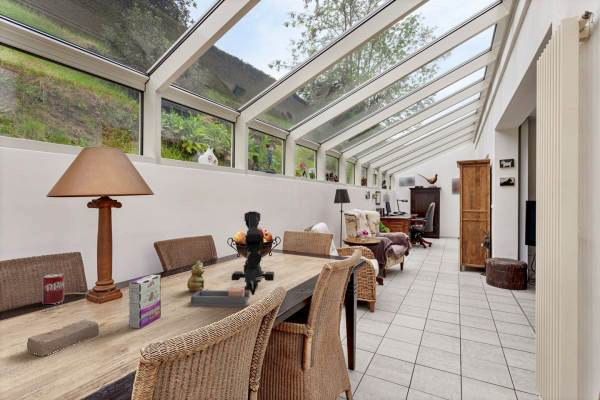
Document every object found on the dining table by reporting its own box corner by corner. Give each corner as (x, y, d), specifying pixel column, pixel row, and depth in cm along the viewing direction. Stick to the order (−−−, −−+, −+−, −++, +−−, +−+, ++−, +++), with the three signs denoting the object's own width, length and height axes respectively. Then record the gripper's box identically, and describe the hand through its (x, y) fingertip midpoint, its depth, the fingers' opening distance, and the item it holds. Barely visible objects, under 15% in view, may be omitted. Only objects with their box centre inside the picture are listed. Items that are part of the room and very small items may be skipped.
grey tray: (199, 296, 137) (199, 289, 137) (249, 297, 136) (249, 290, 136) (189, 305, 125) (189, 297, 125) (244, 306, 124) (245, 298, 124)
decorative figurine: (204, 292, 142) (205, 262, 142) (186, 294, 140) (187, 263, 140) (204, 287, 151) (204, 258, 152) (187, 288, 149) (187, 259, 149)
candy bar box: (150, 315, 114) (150, 274, 114) (161, 317, 113) (161, 275, 113) (127, 327, 103) (128, 281, 103) (139, 329, 102) (140, 282, 102)
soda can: (67, 301, 129) (67, 274, 129) (47, 306, 122) (48, 278, 122) (58, 298, 132) (58, 272, 132) (38, 303, 125) (39, 276, 125)
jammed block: (231, 296, 133) (231, 287, 133) (244, 296, 133) (244, 287, 133) (228, 300, 127) (228, 291, 127) (241, 300, 127) (241, 291, 127)
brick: (84, 330, 101) (84, 317, 101) (100, 334, 98) (100, 321, 98) (25, 353, 85) (25, 338, 85) (41, 359, 82) (42, 343, 82)
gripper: (228, 264, 122) (228, 300, 122) (272, 264, 122) (271, 301, 122) (234, 258, 134) (234, 292, 134) (274, 259, 134) (274, 292, 134)
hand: (253, 294), depth 130 cm, fingers closed
